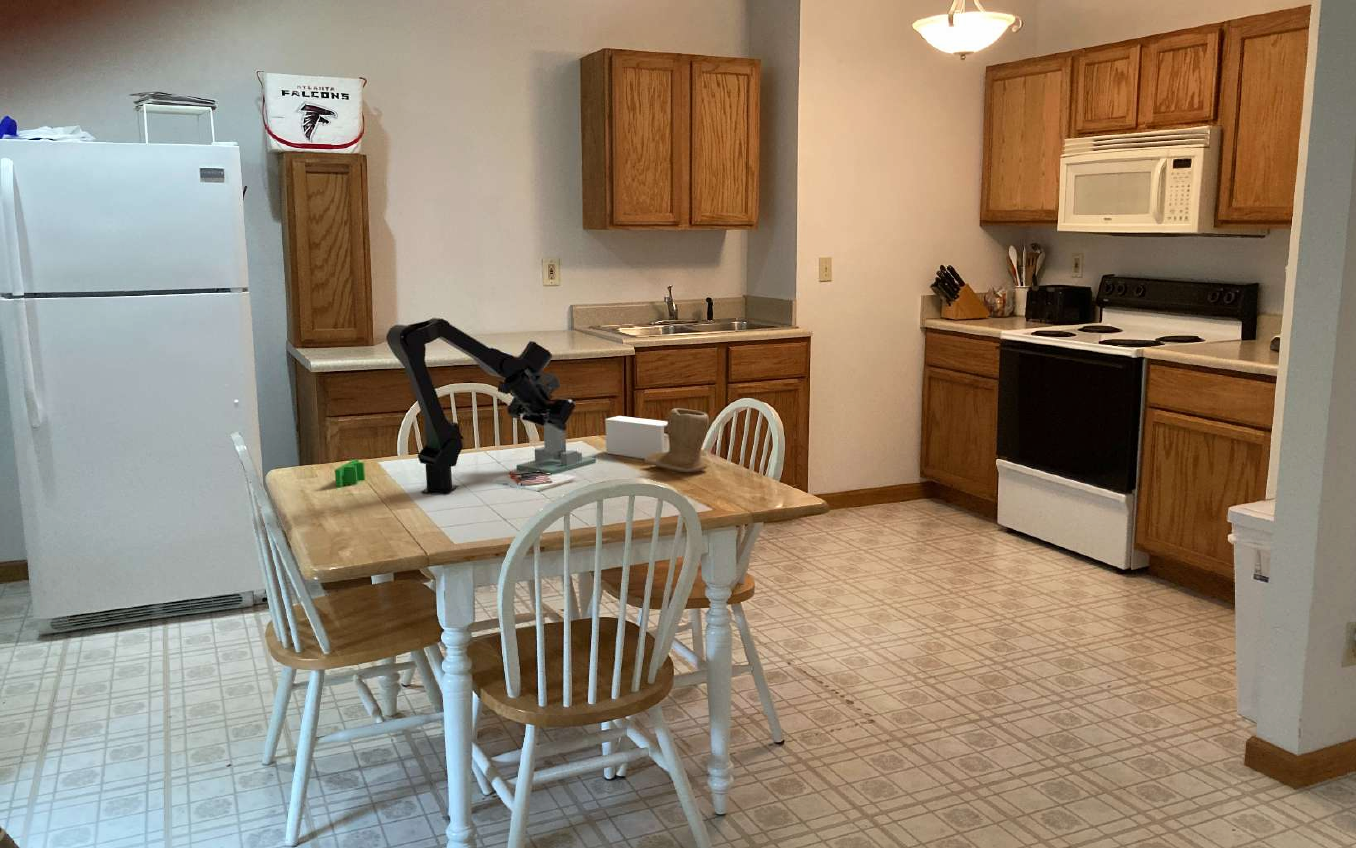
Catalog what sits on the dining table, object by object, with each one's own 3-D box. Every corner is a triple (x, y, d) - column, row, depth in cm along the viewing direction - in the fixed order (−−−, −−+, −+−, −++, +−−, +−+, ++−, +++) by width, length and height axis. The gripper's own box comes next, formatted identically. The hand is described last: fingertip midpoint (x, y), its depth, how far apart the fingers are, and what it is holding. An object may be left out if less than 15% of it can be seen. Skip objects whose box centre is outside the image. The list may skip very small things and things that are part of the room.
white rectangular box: (675, 458, 280) (674, 422, 279) (662, 462, 276) (661, 425, 274) (616, 449, 292) (615, 415, 291) (602, 453, 288) (601, 418, 286)
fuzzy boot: (720, 470, 266) (719, 409, 263) (682, 478, 258) (680, 415, 255) (680, 460, 277) (679, 402, 274) (643, 468, 270) (641, 408, 267)
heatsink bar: (557, 457, 271) (556, 405, 269) (543, 455, 274) (541, 404, 272) (567, 455, 274) (565, 403, 271) (553, 452, 277) (551, 402, 274)
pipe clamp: (351, 489, 256) (349, 469, 255) (336, 488, 257) (334, 469, 256) (370, 477, 267) (368, 459, 266) (355, 477, 268) (353, 459, 267)
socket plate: (551, 474, 265) (550, 458, 264) (516, 469, 272) (515, 453, 271) (595, 462, 277) (595, 447, 276) (561, 457, 284) (560, 442, 283)
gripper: (568, 366, 261) (600, 406, 271) (513, 361, 272) (546, 399, 283) (546, 403, 256) (580, 442, 267) (491, 397, 267) (526, 434, 278)
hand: (558, 428), depth 274 cm, fingers closed on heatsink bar, 4 cm apart
